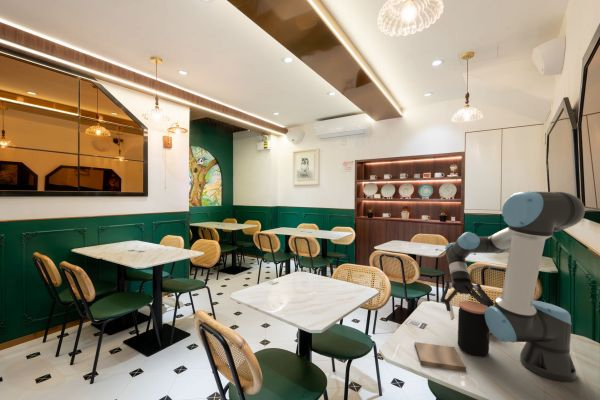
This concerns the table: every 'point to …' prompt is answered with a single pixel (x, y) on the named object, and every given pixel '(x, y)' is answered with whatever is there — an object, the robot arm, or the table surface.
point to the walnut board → (439, 356)
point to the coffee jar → (473, 329)
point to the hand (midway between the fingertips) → (471, 320)
